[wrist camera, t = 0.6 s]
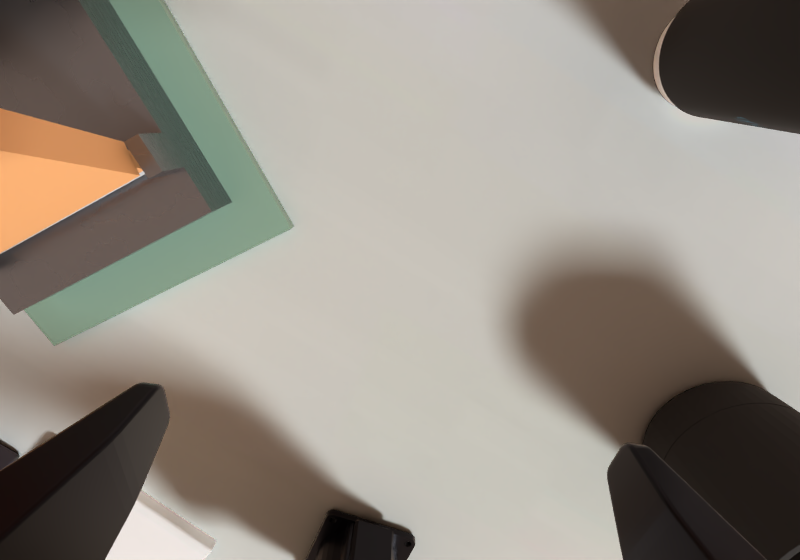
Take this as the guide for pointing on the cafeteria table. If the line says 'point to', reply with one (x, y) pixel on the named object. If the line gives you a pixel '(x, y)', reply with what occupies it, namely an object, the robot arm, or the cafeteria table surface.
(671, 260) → the cafeteria table surface
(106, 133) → the grey stand
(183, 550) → the external hard drive
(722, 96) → the dixie cup
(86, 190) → the orange upright panel
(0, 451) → the panelled box
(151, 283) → the green flat slab
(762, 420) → the pen holder
